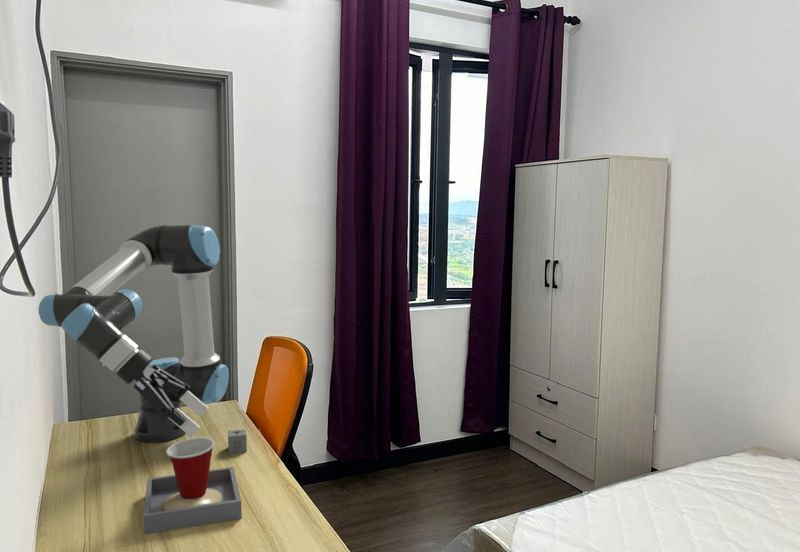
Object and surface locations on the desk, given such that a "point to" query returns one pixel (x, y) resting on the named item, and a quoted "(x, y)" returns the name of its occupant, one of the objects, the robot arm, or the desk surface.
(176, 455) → the plastic cup
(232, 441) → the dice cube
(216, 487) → the grey square tray
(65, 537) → the desk surface
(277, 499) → the desk surface
